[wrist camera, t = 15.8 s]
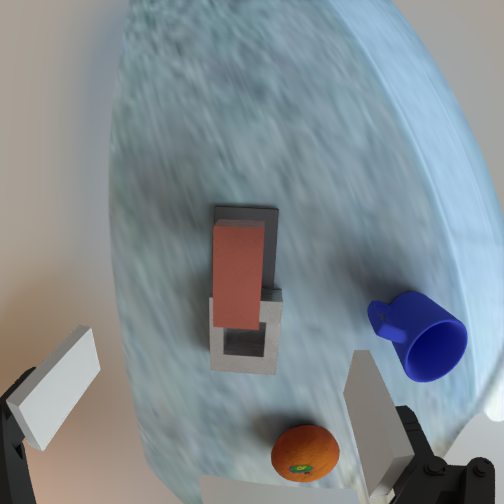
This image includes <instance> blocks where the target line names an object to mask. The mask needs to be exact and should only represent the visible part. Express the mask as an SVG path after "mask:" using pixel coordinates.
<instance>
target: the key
mask: <svg viewBox="0 0 504 504" xmlns="http://www.w3.org/2000/svg"><path fill="white" fill-rule="evenodd" d="M264 229H265V221H250V220H230V219H219V220H218V221H217V222H216V223H215V225H214V227H213V327H222V328H235V329H251V330H259V316H260V299H261V283H262V265H263V248H264Z"/></svg>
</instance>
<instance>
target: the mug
mask: <svg viewBox="0 0 504 504" xmlns="http://www.w3.org/2000/svg"><path fill="white" fill-rule="evenodd" d="M379 313H382V314H384V315H386V316H385V322H384V321H383V319H382V317H381V316H380V314H379ZM368 317H369V320H370V322H371V325H372V327H373V329H374V331H375V333H376V335H378V336H380V337H382V338H385V339H388V340H390V341H392V343H393V346H394V348H395V350H396V352H397V355H398V357H399V359H400V362H401V364H402V366H403V369H404V371H405V373H406V375H407V376H408V377H409V378H410V379H412V380H414V381H416V382H430V381H434V380H437V379H439V378H441V377H442V376H444V375H446V374H447V373H448V372H450V371H451V370H452V369H453V368H454V367H455V366H456V365H457V363H458V362H459V361H460V359H461V358H462V356H463V354H464V352H465V349H466V346H467V331H466V328H465V326H464V325H463V323H462V322H461V321H459V320H458V319H457V318H455V317H454V316H453V315H451V314H450V313H449V312H447V311H446V310H445V309H443V308H442V307H441V306H439V305H438V304H437V303H435V302H434V301H432V300H431V299H430V298H428V297H427V296H426V295H424V294H422V293H419V292H407V293H404V294H402V295H400V296H398V297H397V298H396V299H395V300H394V301H393V302H392V303H391V304H390V306H389V305H387V304H385V303H383V302H380V301H376V300H375V301H372V302H371V303H370V305H369V307H368Z"/></svg>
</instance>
